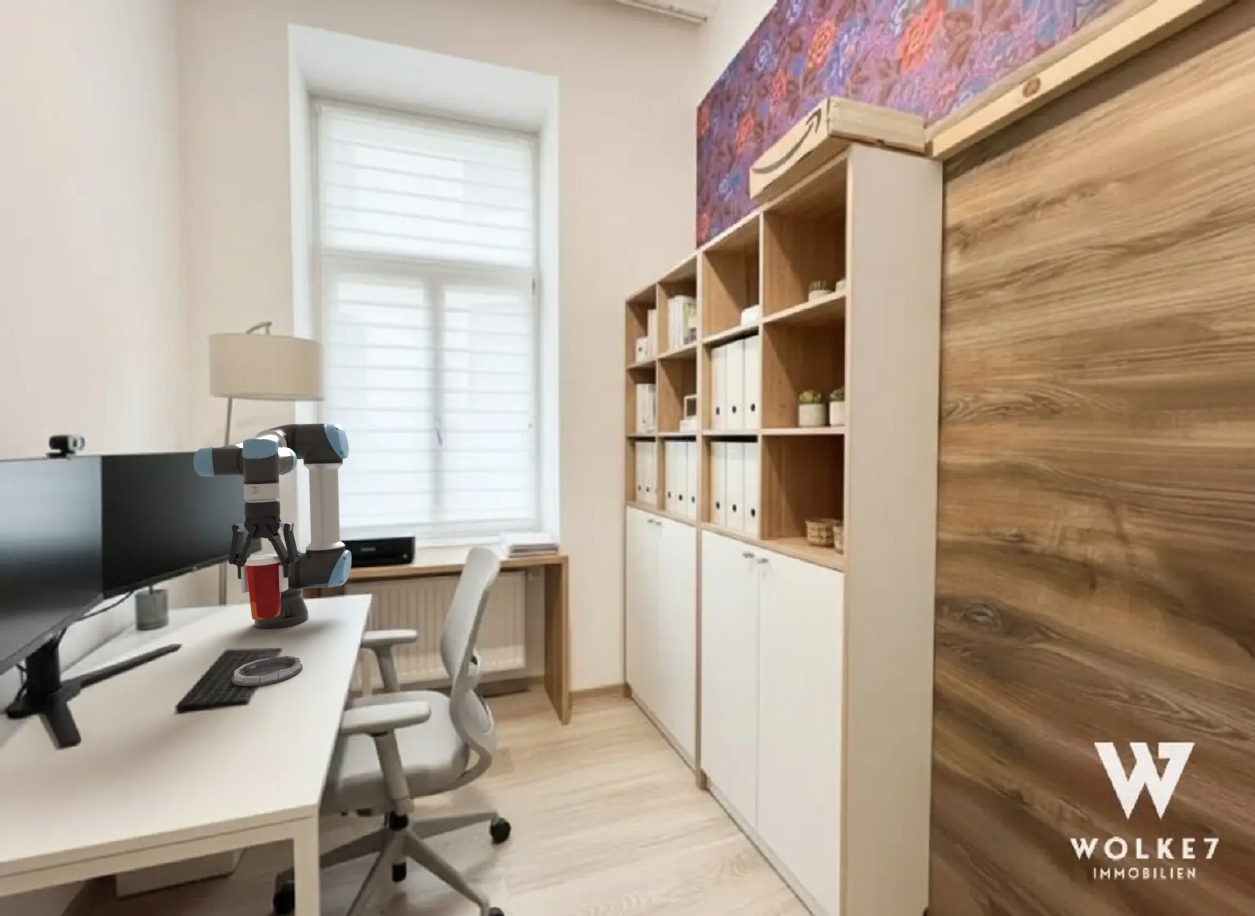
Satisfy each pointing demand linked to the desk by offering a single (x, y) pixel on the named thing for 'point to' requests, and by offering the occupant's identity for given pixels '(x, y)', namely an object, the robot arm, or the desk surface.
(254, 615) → the coffee cup
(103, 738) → the desk surface
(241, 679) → the ring seat
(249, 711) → the desk surface
